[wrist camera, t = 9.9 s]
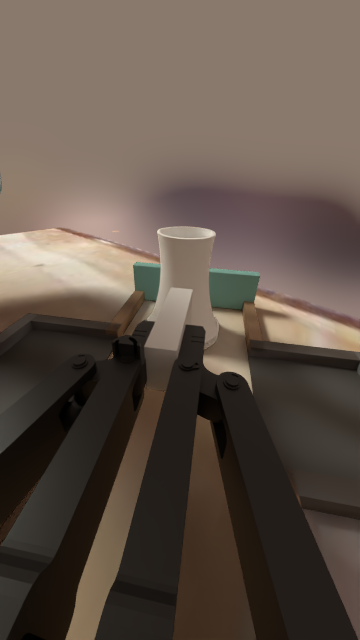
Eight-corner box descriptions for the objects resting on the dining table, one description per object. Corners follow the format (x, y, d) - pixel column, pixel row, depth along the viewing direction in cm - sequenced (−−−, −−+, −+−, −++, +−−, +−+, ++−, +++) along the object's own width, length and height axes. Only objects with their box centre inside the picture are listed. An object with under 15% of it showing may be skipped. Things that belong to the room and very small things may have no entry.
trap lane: (798, 962, 5) (890, 1001, 4) (-315, 590, 9) (-351, 582, 8) (329, 318, 28) (333, 309, 27) (71, 292, 32) (69, 283, 31)
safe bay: (252, 310, 29) (259, 276, 26) (135, 298, 31) (133, 265, 28) (251, 306, 30) (258, 272, 27) (138, 294, 32) (136, 262, 29)
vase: (200, 364, 21) (212, 249, 15) (131, 338, 23) (121, 234, 18) (227, 323, 26) (243, 229, 21) (169, 306, 29) (169, 220, 24)
